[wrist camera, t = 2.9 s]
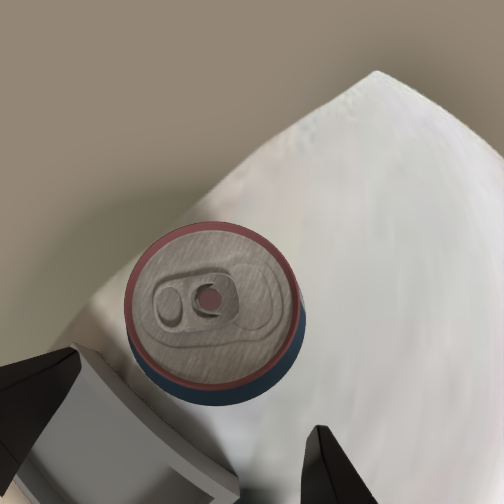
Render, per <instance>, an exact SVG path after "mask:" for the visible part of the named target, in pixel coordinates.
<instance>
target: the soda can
mask: <svg viewBox="0 0 504 504" xmlns="http://www.w3.org/2000/svg"><path fill="white" fill-rule="evenodd" d="M124 315H125V322H126V330H127V336H128V340H129V344H130V347H131V350H132V352H133V354H134V356H135V358H136V360H137V362H138V364H139V365H140V367H141V368H142V370H143V371H144V372H145V373H146V375H147V376H148V377H149V378H150V379H151V380H152V381H153V382H154V383H155V384H156V385H158V386H159V387H160V388H162V389H163V390H164V391H166V392H167V393H169V394H171V395H173V396H175V397H177V398H179V399H181V400H184V401H187V402H190V403H194V404H199V405H205V406H227V405H233V404H238V403H242V402H245V401H248V400H250V399H253V398H255V397H257V396H259V395H261V394H263V393H264V392H266V391H267V390H269V389H270V388H271V387H273V386H274V385H275V384H276V383H277V382H279V381H280V380H281V379H282V378H283V377H284V375H285V374H286V373H287V372H288V370H289V369H290V368H291V366H292V365H293V363H294V361H295V360H296V358H297V356H298V354H299V351H300V349H301V346H302V343H303V339H304V334H305V326H306V313H305V305H304V300H303V296H302V293H301V290H300V288H299V285H298V283H297V281H296V278H295V275H294V273H293V271H292V269H291V267H290V265H289V263H288V262H287V260H286V259H285V257H284V256H283V255H282V253H281V252H280V251H279V250H278V249H277V248H276V247H275V246H274V245H273V244H272V243H270V242H269V241H268V240H267V239H265V238H264V237H262V236H261V235H259V234H258V233H256V232H254V231H252V230H250V229H247V228H245V227H242V226H239V225H236V224H232V223H227V222H201V223H195V224H191V225H187V226H184V227H181V228H179V229H176V230H174V231H172V232H170V233H168V234H166V235H165V236H163V237H162V238H160V239H159V240H157V241H156V242H155V243H154V244H153V245H151V246H150V247H149V248H148V249H147V250H146V251H145V253H144V254H143V255H142V256H141V258H140V259H139V260H138V262H137V263H136V265H135V267H134V269H133V271H132V273H131V275H130V278H129V280H128V283H127V287H126V292H125V298H124Z"/></svg>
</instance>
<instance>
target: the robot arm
mask: <svg viewBox="0 0 504 504" xmlns="http://www.w3.org/2000/svg"><path fill="white" fill-rule="evenodd" d="M81 369H82V364H81V359H80V354H79V351H78V350H76V349H74V348H72V347H66V348H63V349H60V350H57V351H53V352H50V353H47V354H43V355H40V356H37V357H33V358H30V359H27V360H23V361H19V362H16V363H12V364H9V365H5V366H1V367H0V496H1V497H3V496H4V494H5V492H6V490H7V489H8V487H9V485H10V483H11V482H12V480H13V478H14V476H15V475H16V473H17V471H18V470H19V468H20V466H21V465H22V463H23V461H24V460H25V458H26V456H27V455H28V453H29V452H30V450H31V449H32V447H33V445H34V444H35V442H36V441H37V439H38V438H39V436H40V435H41V433H42V432H43V430H44V429H45V427H46V426H47V424H48V423H49V421H50V420H51V418H52V417H53V416H54V414H55V413H56V411H57V410H58V408H59V407H60V405H61V404H62V403H63V401H64V400H65V398H66V396H67V395H68V393H69V391H70V389H71V388H72V386H73V384H74V382H75V380H76V379H77V377H78V375H79V373H80V372H81ZM301 504H378V503H377V501H376V500H375V498H374V497H373V496H372V494H371V492H370V491H369V489H368V488H367V486H366V485H365V483H364V482H363V480H362V479H361V477H360V476H359V474H358V473H357V471H356V470H355V468H354V466H353V465H352V463H351V462H350V460H349V459H348V457H347V456H346V454H345V452H344V451H343V449H342V448H341V446H340V445H339V443H338V442H337V440H336V438H335V437H334V435H333V434H332V432H331V430H330V429H329V427H328V426H325V425H316V426H315V427H314V428H313V430H312V432H311V433H310V435H309V436H308V438H307V441H306V448H305V456H304V462H303V469H302V476H301Z"/></svg>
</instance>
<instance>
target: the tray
mask: <svg viewBox="0 0 504 504" xmlns="http://www.w3.org/2000/svg"><path fill="white" fill-rule="evenodd" d="M69 347H72V348H74V349H76V350H78V351H79V354H80V359H81V364H82V369H81V372H80V373H79V375H78V377H77V379H76V380H75V382H74V384H73V386H72V388H71V389H70V391H69V393H68V395H67V396H66V398H65V400H64V401H63V403H62V404H61V405H60V407H59V408H58V410H57V411H56V413H55V414H54V416H53V417H52V418H51V420H50V421H49V423H48V424H47V426H46V427H45V429H44V430H43V432H42V433H41V435H40V436H39V438H38V439H37V441H36V442H35V444H34V445H33V447H32V449H31V450H30V452H29V453H28V455H27V456H26V458H25V460H24V461H23V463H22V465H21V466H20V468H19V470H18V471H17V473H16V475H15V476H14V478H13V480H14V481H15V483H16V484H17V485H18V487H19V488H20V489H21V490H22V492H23V493H24V494H25V495H26V497H27V498H28V499H29V500H30V501H31V503H32V504H233V503H234V502H235V501H236V500H237V499H238V498H239V497H240V493H239V478H238V477H236V476H235V475H233V474H232V473H230V472H229V471H227V470H226V469H224V468H223V467H221V466H220V465H219V464H217V463H216V462H214V461H213V460H212V459H210V458H209V457H208V456H206V455H205V454H204V453H202V452H201V451H200V450H198V449H197V448H196V447H194V446H193V445H192V444H191V443H189V442H188V441H187V440H186V439H184V438H183V437H182V436H181V435H180V434H178V433H177V432H176V431H175V430H174V429H173V428H171V427H170V426H169V425H168V424H167V423H166V422H165V421H163V420H162V419H161V418H160V417H159V416H158V415H157V414H156V413H155V412H154V411H153V410H152V409H151V408H149V407H148V406H147V405H146V404H145V403H144V402H143V401H142V400H141V399H140V398H139V397H138V396H137V395H136V394H135V393H134V392H133V391H132V390H131V389H130V387H129V386H128V385H127V384H126V383H125V382H124V381H123V380H122V379H121V378H120V377H119V376H118V375H117V373H116V372H115V371H114V370H113V369H112V368H111V367H110V365H109V364H108V363H107V362H106V361H105V360H104V358H103V357H102V356H101V355H100V354H99V352H96V351H93V350H91V349H88V348H86V347H83V346H80V345H78V344H76V343H72V344H71V345H70V346H69Z"/></svg>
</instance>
